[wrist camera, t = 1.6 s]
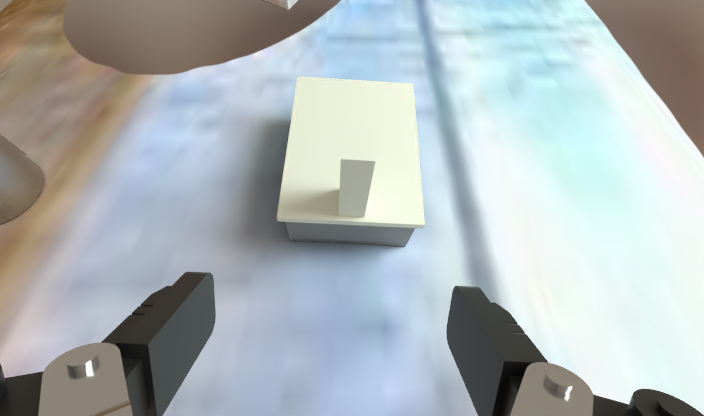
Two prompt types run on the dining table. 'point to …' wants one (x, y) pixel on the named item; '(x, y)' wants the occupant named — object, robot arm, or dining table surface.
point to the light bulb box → (282, 3)
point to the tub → (348, 234)
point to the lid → (352, 155)
